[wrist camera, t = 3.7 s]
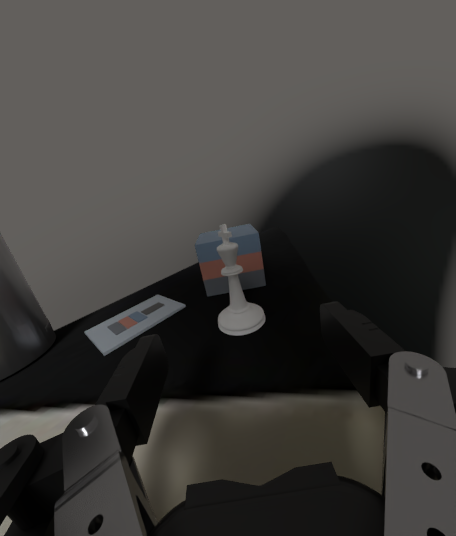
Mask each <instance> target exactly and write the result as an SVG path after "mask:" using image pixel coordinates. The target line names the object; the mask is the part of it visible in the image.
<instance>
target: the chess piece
mask: <svg viewBox="0 0 456 536" xmlns="http://www.w3.org/2000/svg"><path fill="white" fill-rule="evenodd" d="M220 230H221V231H219V232H218V236H219V237H222V240H223V243H222V244H221V245H219V246H218V247H217V252H218V254H219V255H220V257H221V258H222V261H223V262H224V264H225V268H223V269H222V270H221V274H222V275H223V276H228V281H229V293H230V305H229V306H228V307H227V308H225V309H224V310H223V311H222V312H221V313H220V314H219V316H218V326H219V329H220V330H221V331H222V332H224V333H226V334H229V335H235V336H239V335H246V334H250V333H252V332H254V331H256V330H258V329H259V328H260V327H262V325H263V324H264V322H265V319H266V318H265V314H264V311H263V309H262V308H261V307H260V306H258V305H256V304H253V303H249V302H246V299H245V297H244V294H243V291H242V288H241V284H240V281H239V278H238V274H239V273H241V272H242V271H243V268H242V266H240V265H237V264H236V260H237V252H238V244H237V243H233V242H229V237H232V234H231V232H229V231H227V227H226V224H223V225H220Z"/></svg>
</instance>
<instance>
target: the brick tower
mask: <svg viewBox="0 0 456 536" xmlns="http://www.w3.org/2000/svg"><path fill="white" fill-rule="evenodd" d="M219 231H221V230H216V231H211V232H207V233H201V234H200V235H199V237H198V240H197V241H196V244H195V248H196V252H197V256H198V261H199V265H200V269H201V273H202V277H203V281H204V285H205V289H206V293H207V297H208V296H213V295H219V294H224V293H229V281H228V276H223V275H222V274H221V270H222V269H223V268H225V264H224V262H223V261H222V258H221V257H220V255H219V254H218V252H217V247H218V246H219V245H221V244H222V243H223V240H222V237H219V236H218V232H219ZM227 231H229V232H231V234H232V237H229V242H233V243H237V244H238V252H237V260H236V264H237V265H240V266H242V268H243V271H242V272H241V273H239V274H238V278H239V281H240V284H241V288H242V290H245V289H250V288H256V287H261V286H266V282H265V275H264V268H263V261H262V254H261V247H260V240H259V233H258V232H257V231H256V230H255V229H254V228H253V227H252V226H251V225H250V224H247V225H242V226H237V227H232V228H227Z"/></svg>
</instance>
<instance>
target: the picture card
mask: <svg viewBox="0 0 456 536" xmlns="http://www.w3.org/2000/svg"><path fill="white" fill-rule="evenodd" d="M184 307H186V306H185V304H182V303H179V302H177V301H174V300H171V299H169V298H166V297H163V296H160V295H156V296H154V297H152V298H150V299H148V300H146V301H144V302H142V303H140V304H138V305H136V306H134V307H132V308H130V309H128V310H126V311H124V312H122V313H120V314H118V315H117V316H115V317H113V318H111V319H109V320H107V321H105V322H103V323H101V324H99V325H97V326H95V327H93V328H91V329H89V330H87V331H85V334H86V335H87V336H88V338H89V339H90V340H91V341H92V342H93V343H94V344H95V346H96V347H97V348H98V349H99V350H100V351H101V352H102V354H103V355H104V356H105V355H107V354H108V353H110V352H112V351H113V350H115V349H117V348H118V347H120V346H122V345H123V344H125V343H127V342H128V341H130V340H132V339H133V338H135V337H137V336H138V335H140V334H142V333H143V332H145V331H146V330H148V329H150V328H151V327H153V326H155V325H156V324H158V323H160V322H161V321H163V320H165V319H166V318H168V317H170V316H171V315H173V314H175V313H176V312H178V311H180V310H181V309H183V308H184Z"/></svg>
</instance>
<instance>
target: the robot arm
mask: <svg viewBox="0 0 456 536" xmlns="http://www.w3.org/2000/svg"><path fill="white" fill-rule="evenodd" d="M320 320H321V334H322V338H323V340H324V343H325V344H326V346H327V347H328V349H329V350H330V352H331V353H332V355H333V356H334V357H335V359H336V360H337V362H338V363H339V365H340V366H341V368H342V369H343V370H344V372H345V373H346V375H347V376H348V378H349V379H350V381H351V382H352V383H353V385H354V386H355V388H356V389H357V391H358V392H359V394H360V395H361V396H362V398H363V399H364V401H365V402H366V404H367V405H368V407H375V406H381V407H382V408H383V410H384V411H385V426H384V450H383V472H382V490H381V494H379V493H378V492H376V491H375V490H373V489H371V488H369V487H368V486H366V485H364V484H362V483H359V482H357V481H355V480H352V479H349V478H346V477H342V476H337V475H336V472H335V470H334V467H333V465H332V462H327V463H321V464H315V465H309V466H303V467H296V468H294V469H292V470H290V471H288V472H286V473H284V474H283V475H281V476H279V477H277V478H275V479H273V480H271V481H269V482H268V483H266V484H264V485H261V486H255V485H250V484H244V483H239V482H233V481H227V480H216V481H210V482H204V483H198V484H191V485H187V492H186V500H185V501H183V502H182V503H180V504H179V505H177V506H176V507H175V508H173V509H172V510H171V511H170V512H169V513H167V514H166V515H165V516H164V517H163V518H162V519H161V520H160V521H159V523H158V521H157V519H156V517H155V515H154V512H153V510H152V507H151V505H150V502H149V499H148V496H147V494H146V491H145V488H144V485H143V482H142V479H141V476H140V474H139V471H138V468H137V465H136V462H135V459H134V457H133V452H134V449H135V446H137V445H143V444H147V442H148V439H149V435H150V432H151V428H152V425H153V421H154V418H155V415H156V411H157V408H158V404H159V401H160V397H161V394H162V390H163V387H164V384H165V380H166V377H167V373H168V359H167V356H166V353H165V350H164V348H163V345H162V342H161V339H160V337H159V335H158V334H155V335H149V336H144V337H141V338H140V340H139V342H138V343H137V345H136V347H135V349H131V350H130V351H129V352H128V353H127V354H126V355H125V356H124V357H123V358H122V360H121V362H120V363H119V365H118V368H117V369H116V370H115V372H114V374H113V377H111V379H110V380H109V382H108V384H107V386H106V387H105V389H104V391H103V392H102V394H101V396H100V398H99V399H98V401H97V403H96V404H95V406H92V407H90V408H87V409H86V410H84V411H83V412H81V413H80V414H79V415H77V416H76V417H75V418H74V419H73V420H72V421H71V422H70V423H69V425H68V426H67V428H66V429H65V431H64V433H62V434H59V435H57V436H55V437H53V438H51V439H48V440H46V441H44V442H42V443H39V442H38V440H37V439H36V437H35V436H34V435H24V436H21V437H19V438H17V439H15V440H13V441H11V442H9V443H8V444H6V445H5V446H4V447H2V448H1V449H0V525H1V524H2V522H3V520H4V519H5V517H6V516H8V517H9V518H10V519H11V520H12V523H11V525H10V527H9V528H8V530H7V532H6V533H5V535H4V536H456V368H446V367H442V366H441V365H440V364H438V363H437V362H436V361H434V360H432V359H431V358H429V357H427V356H424V355H421V354H418V353H414V352H406V351H405V350H403V348H401V347H400V346H399V345H397V343H395V342H394V341H393V340H392V339H391V338H390V337H389V336H387V335H386V334H385V333H384V332H383V331H381V330H380V329H378V327H377V326H376V325H375V324H373V323H372V322H371V321H370V320H368V319H367V318H366V317H365V316H364V315H362V314H360V313H358V312H356V311H354V310H347V309H345V308H344V307H343V306H342V305H341V304H340V303H339V302H331V303H326V304H321V305H320ZM55 339H56V334H55V332H54V331H53V329H52V327H51V324H50V322H49V320H48V319H47V318H46V316H45V314H44V312H43V310H42V308H41V307H40V305H39V303H38V301H37V299H36V298H35V296H34V294H33V292H32V290H31V288H30V286H29V285H28V283H27V281H26V279H25V277H24V275H23V274H22V272H21V270H20V268H19V266H18V265H17V263H16V261H15V259H14V257H13V255H12V254H11V252H10V250H9V248H8V246H7V244H6V243H5V241H4V239H3V237H2V235H1V233H0V380H2V379H4V378H6V377H8V376H10V375H12V374H14V373H15V372H17V371H19V370H20V369H22V368H24V367H25V366H27V365H28V364H30V363H31V362H33V361H34V360H36V359H37V358H38V357H40V356H41V355H42V354H43V353H45V352H46V351H47V350H48V349H49V348H50V347H51V346H52V344H53V343H54V342H55Z"/></svg>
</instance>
